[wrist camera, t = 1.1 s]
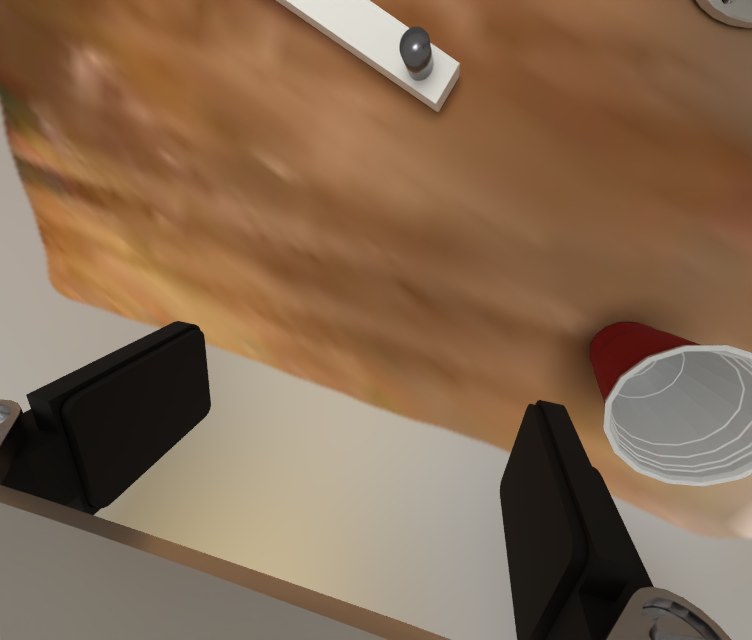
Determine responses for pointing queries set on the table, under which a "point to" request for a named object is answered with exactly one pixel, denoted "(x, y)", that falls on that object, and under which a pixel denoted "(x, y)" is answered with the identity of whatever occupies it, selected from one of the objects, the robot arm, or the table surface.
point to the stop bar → (384, 45)
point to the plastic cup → (675, 404)
